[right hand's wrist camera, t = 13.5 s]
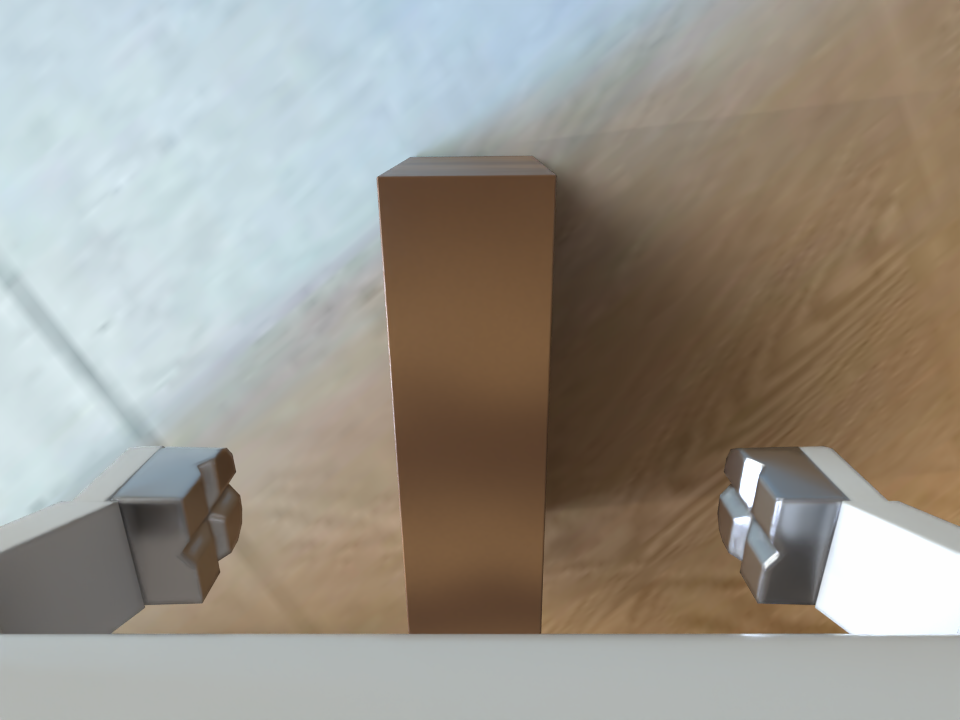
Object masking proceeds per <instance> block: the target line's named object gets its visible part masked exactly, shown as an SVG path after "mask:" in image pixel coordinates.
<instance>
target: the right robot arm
mask: <svg viewBox="0 0 960 720" xmlns="http://www.w3.org/2000/svg"><path fill="white" fill-rule="evenodd" d="M235 473H236V469H235V464H234V460H233V455H232V453H231V452H230V451H229V450H228V449H227V448H207V447H164V446H148V447H132V448H128V449H127V450H126V451H125V452H124V453H123V454H122V455H121V456H120V457H119V458H117V459H116V460H115V461H114V462H113V463H112V464H111V465H110V466H109V467H108V468H107V469H106V470H105V471H104V472H102V473H101V474H100V475H99V476H98V477H97V478H96V479H95V480H94V481H93V482H92V483H91V484H90V485H89V486H87V487H86V488H85V489H84V490H83V491H82V492H81V493H80V494H79V495H78V496H77V497H76V498H75V499H74V500H72V501H61V502H58V503H56V504H53V505H51V506H49V507H46V508H44V509H41V510H39V511H37V512H34V513H32V514H29V515H27V516H24V517H22V518H20V519H17V520H15V521H12V522H10V523H8V524H5V525H3V526H0V720H960V526H957V525H955V524H952V523H950V522H947V521H945V520H943V519H940V518H938V517H935V516H933V515H931V514H928V513H926V512H923V511H921V510H919V509H916V508H914V507H911V506H909V505H907V504H904V503H902V502H899V501H888V500H887V499H885V498H884V497H883V496H882V495H881V494H880V493H879V492H878V491H877V490H876V489H875V488H874V487H873V486H872V485H871V484H869V483H868V482H867V481H866V480H865V479H864V478H863V477H862V476H861V475H860V474H859V473H858V472H857V471H856V470H854V469H853V468H852V467H851V466H850V465H849V464H848V463H847V462H846V461H845V460H844V459H843V458H842V457H841V456H840V455H838V454H837V453H836V452H835V451H834V450H833V449H832V448H829V447H825V446H811V447H768V448H736V449H731V450H730V452H729V454H728V456H727V458H726V463H725V469H724V473H725V474H726V476H727V477H728V479H729V481H730V482H731V485H730V486H729V487H728V488H727V489H726V490H725V491H724V492H723V493H722V494H721V495H720V499H719V506H718V523H719V531H720V534H721V538H722V541H723V543H724V545H725V547H726V549H727V550H728V552H729V553H730V554H731V555H733V556H735V557H736V558H738V559H739V560H741V561H742V563H741V569H740V573H741V575H742V577H743V579H744V580H745V582H746V584H747V586H748V587H749V589H750V591H751V592H752V594H753V596H754V598H755V599H756V601H757V603H763V604H800V605H815V608H816V609H818V610H819V611H820V612H822V613H823V614H824V615H826V616H827V617H828V618H830V619H831V620H832V621H834V622H835V623H836V624H838V625H839V626H840V627H842V628H843V629H844V630H845V631H847V632H848V633H849V634H111V633H112V632H113V631H115V630H116V629H117V628H119V627H120V626H121V625H123V624H124V623H125V622H127V621H128V620H129V619H131V618H132V617H133V616H135V615H136V614H137V613H139V612H140V611H141V610H142V609H144V608H145V605H160V604H195V603H203V601H204V599H205V598H206V596H207V594H208V593H209V591H210V589H211V587H212V586H213V584H214V582H215V580H216V579H217V577H218V575H219V573H220V569H219V563H218V561H219V560H221V559H222V558H224V557H225V556H227V555H229V554H230V553H231V552H232V550H233V549H234V547H235V545H236V543H237V541H238V538H239V534H240V529H241V525H242V505H241V498H240V495H239V494H238V493H237V492H236V491H235V490H234V489H233V488H232V487H231V486H230V485H229V482H230V481H231V479H232V477H233V476H234V474H235Z"/></svg>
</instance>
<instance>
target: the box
mask: <svg viewBox="0 0 960 720" xmlns="http://www.w3.org/2000/svg"><path fill="white" fill-rule="evenodd" d="M556 178H557V176H556V175H555V174H554V173H553V172H552V171H550V170H549V169H548V168H547V167H545V166H544V165H543V164H542V163H541V162H539V161H538V160H537V159H536V158H534V157H533V156H475V157H410V158H408V159H406V160H405V161H403V162H401V163H400V164H398V165H396V166H395V167H393V168H391V169H390V170H388V171H386V172H385V173H383V174H381V175H380V176H378V177H377V191H378V205H379V219H380V233H381V248H382V262H383V276H384V290H385V304H386V319H387V333H388V347H389V361H390V376H391V390H392V404H393V418H394V432H395V447H396V461H397V475H398V489H399V503H400V518H401V532H402V546H403V560H404V574H405V589H406V603H407V617H408V631H409V634H541V619H542V590H543V560H544V531H545V501H546V472H547V443H548V413H549V384H550V354H551V325H552V295H553V266H554V237H555V207H556Z"/></svg>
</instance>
